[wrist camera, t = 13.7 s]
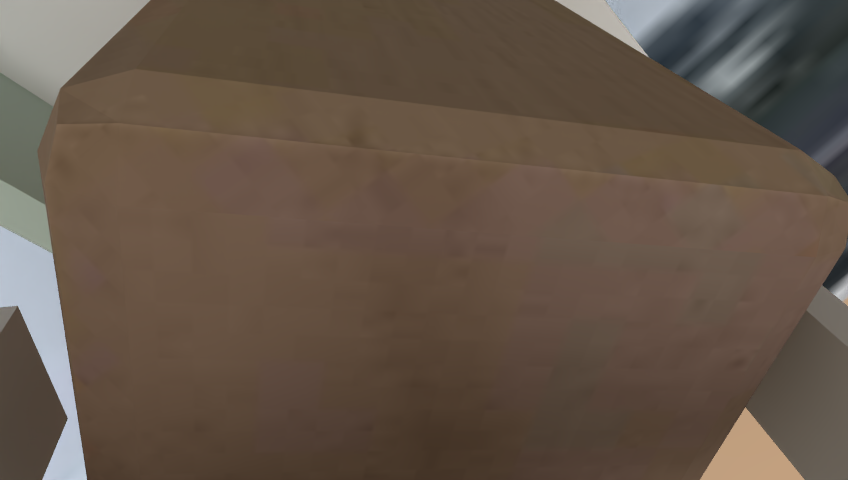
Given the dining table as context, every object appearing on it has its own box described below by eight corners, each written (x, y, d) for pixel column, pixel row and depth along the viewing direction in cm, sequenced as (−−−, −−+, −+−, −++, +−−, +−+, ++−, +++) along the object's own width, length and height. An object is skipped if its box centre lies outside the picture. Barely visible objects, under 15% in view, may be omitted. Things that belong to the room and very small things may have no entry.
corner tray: (644, 57, 28) (729, 109, 23) (356, 324, 34) (366, 419, 28) (185, -532, 17) (124, -724, 11) (-133, 20, 23) (-279, 77, 17)
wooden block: (224, 161, 27) (91, 677, 10) (228, -96, 22) (-24, 90, 5) (445, 181, 29) (633, 628, 12) (495, -47, 24) (927, 193, 7)
